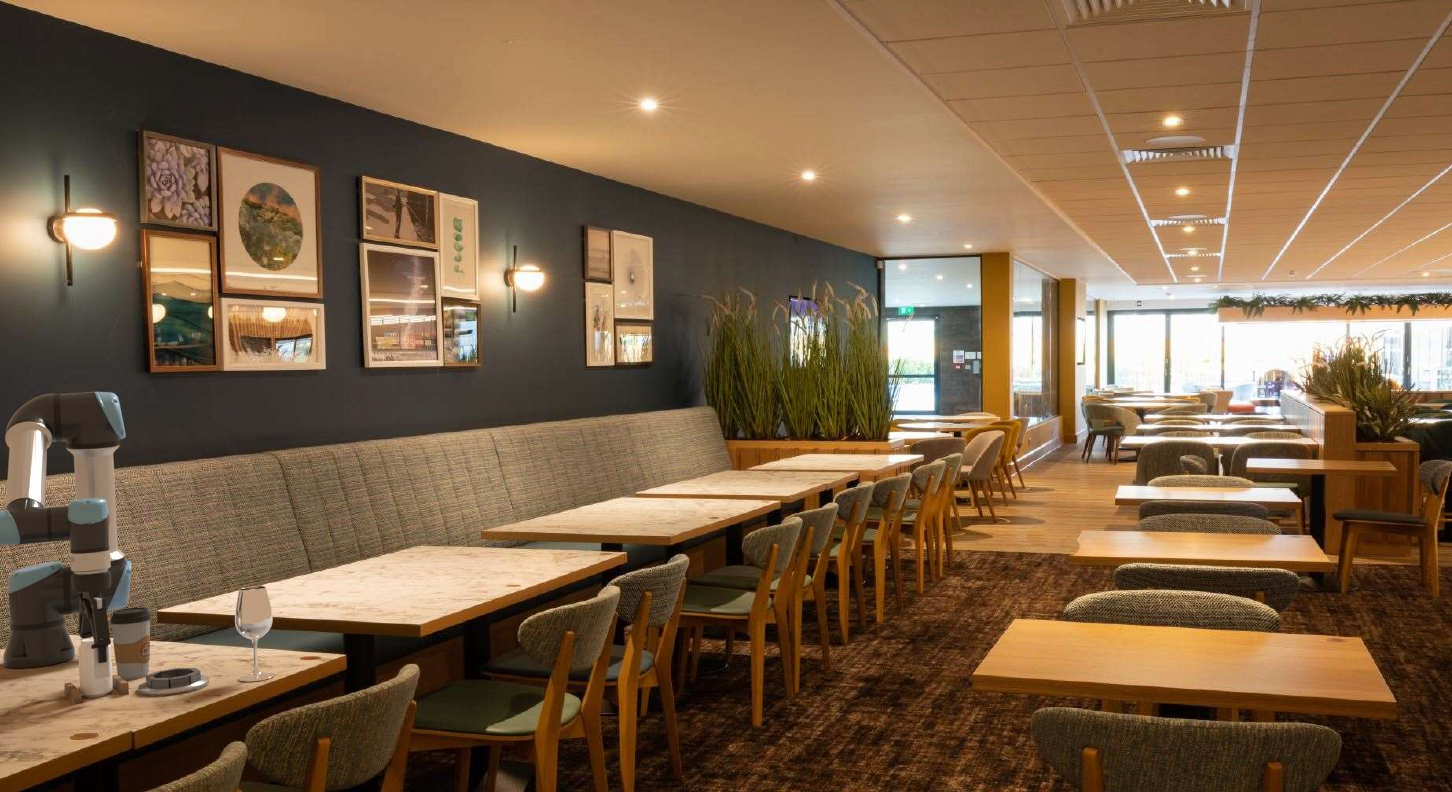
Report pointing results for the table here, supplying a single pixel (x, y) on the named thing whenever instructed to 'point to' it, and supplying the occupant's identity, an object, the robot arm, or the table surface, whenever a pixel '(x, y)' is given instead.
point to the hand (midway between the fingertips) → (95, 672)
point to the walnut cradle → (75, 693)
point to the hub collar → (173, 682)
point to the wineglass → (253, 623)
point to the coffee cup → (131, 642)
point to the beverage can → (92, 672)
